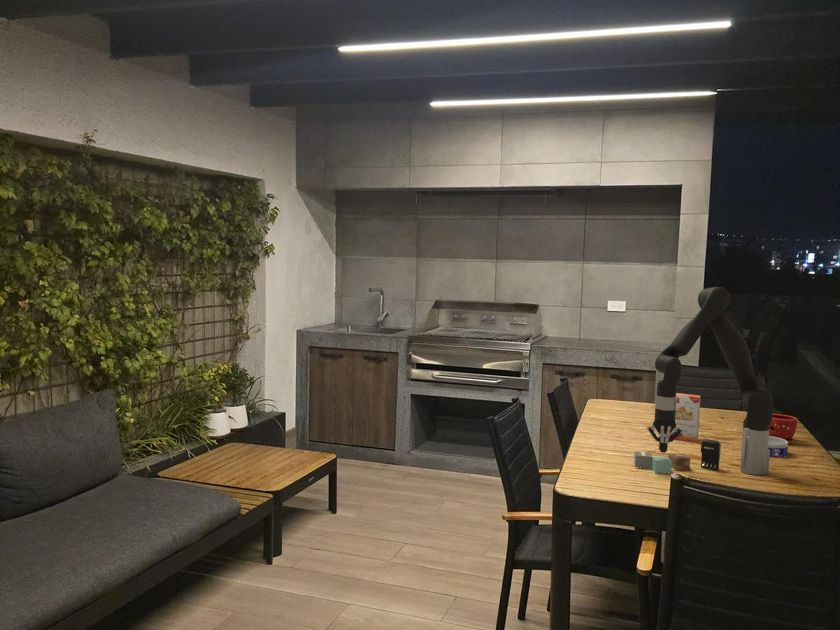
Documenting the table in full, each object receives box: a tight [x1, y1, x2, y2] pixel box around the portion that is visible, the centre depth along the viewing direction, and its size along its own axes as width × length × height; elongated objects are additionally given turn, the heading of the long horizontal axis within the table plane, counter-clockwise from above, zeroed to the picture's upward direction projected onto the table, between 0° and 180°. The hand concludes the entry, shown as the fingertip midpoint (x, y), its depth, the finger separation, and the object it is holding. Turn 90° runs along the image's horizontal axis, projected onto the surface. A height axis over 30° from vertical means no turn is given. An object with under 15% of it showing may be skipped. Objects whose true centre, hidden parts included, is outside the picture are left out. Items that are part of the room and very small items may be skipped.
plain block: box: [650, 456, 672, 475], centre depth 272 cm, size 6×6×5 cm
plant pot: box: [769, 413, 798, 445], centre depth 323 cm, size 13×13×12 cm
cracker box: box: [669, 392, 702, 443], centre depth 323 cm, size 14×6×21 cm, turn 62°
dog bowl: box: [768, 436, 789, 458], centre depth 304 cm, size 15×15×6 cm
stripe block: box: [633, 451, 653, 469], centre depth 278 cm, size 6×6×5 cm
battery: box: [700, 438, 722, 471], centre depth 277 cm, size 7×4×11 cm, turn 49°
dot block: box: [668, 453, 691, 471], centre depth 277 cm, size 6×6×5 cm
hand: (662, 452), depth 271 cm, fingers closed
